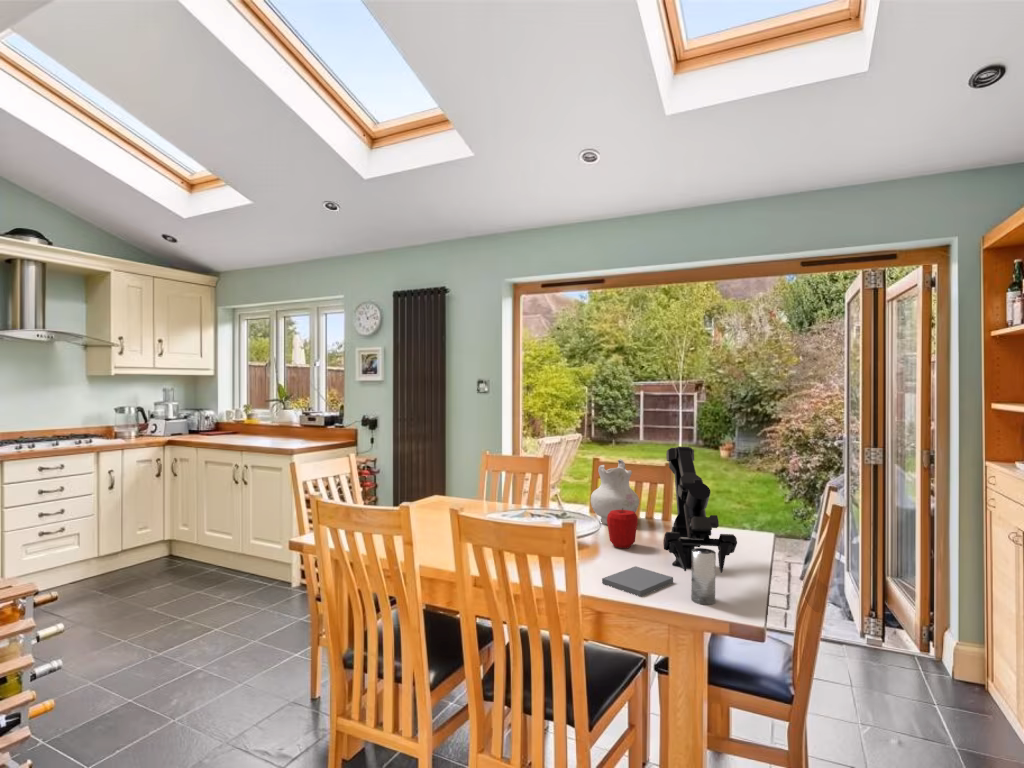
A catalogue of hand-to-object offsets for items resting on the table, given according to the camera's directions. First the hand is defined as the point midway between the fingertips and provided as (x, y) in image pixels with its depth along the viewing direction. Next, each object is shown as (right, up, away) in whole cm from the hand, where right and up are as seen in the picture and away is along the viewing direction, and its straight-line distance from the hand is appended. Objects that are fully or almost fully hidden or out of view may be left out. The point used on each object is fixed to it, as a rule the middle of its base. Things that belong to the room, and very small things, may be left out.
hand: (703, 571), depth 150 cm
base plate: (-15, -8, +13) cm, 21 cm away
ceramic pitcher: (-8, -7, +84) cm, 85 cm away
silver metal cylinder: (0, -8, 0) cm, 8 cm away
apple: (-12, -8, +49) cm, 51 cm away
